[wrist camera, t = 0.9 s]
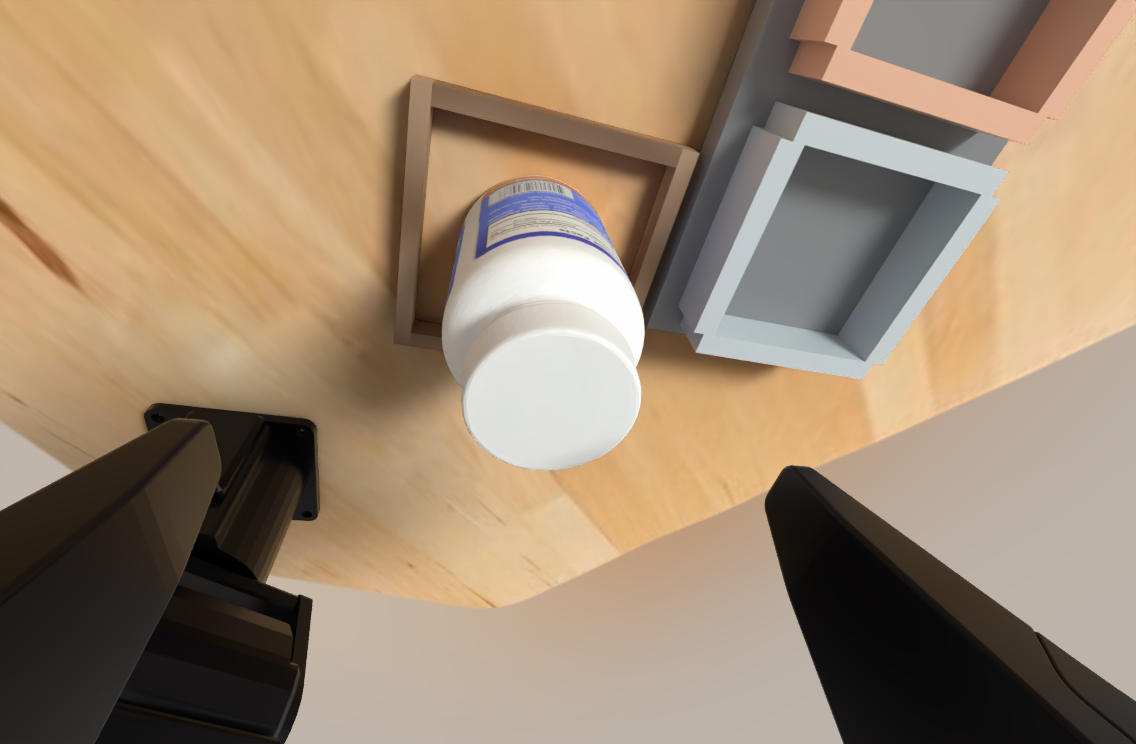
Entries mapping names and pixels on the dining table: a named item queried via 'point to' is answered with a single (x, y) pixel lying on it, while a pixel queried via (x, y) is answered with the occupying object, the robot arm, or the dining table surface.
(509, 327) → the pill bottle
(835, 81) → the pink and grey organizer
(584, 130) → the tray
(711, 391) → the dining table surface
